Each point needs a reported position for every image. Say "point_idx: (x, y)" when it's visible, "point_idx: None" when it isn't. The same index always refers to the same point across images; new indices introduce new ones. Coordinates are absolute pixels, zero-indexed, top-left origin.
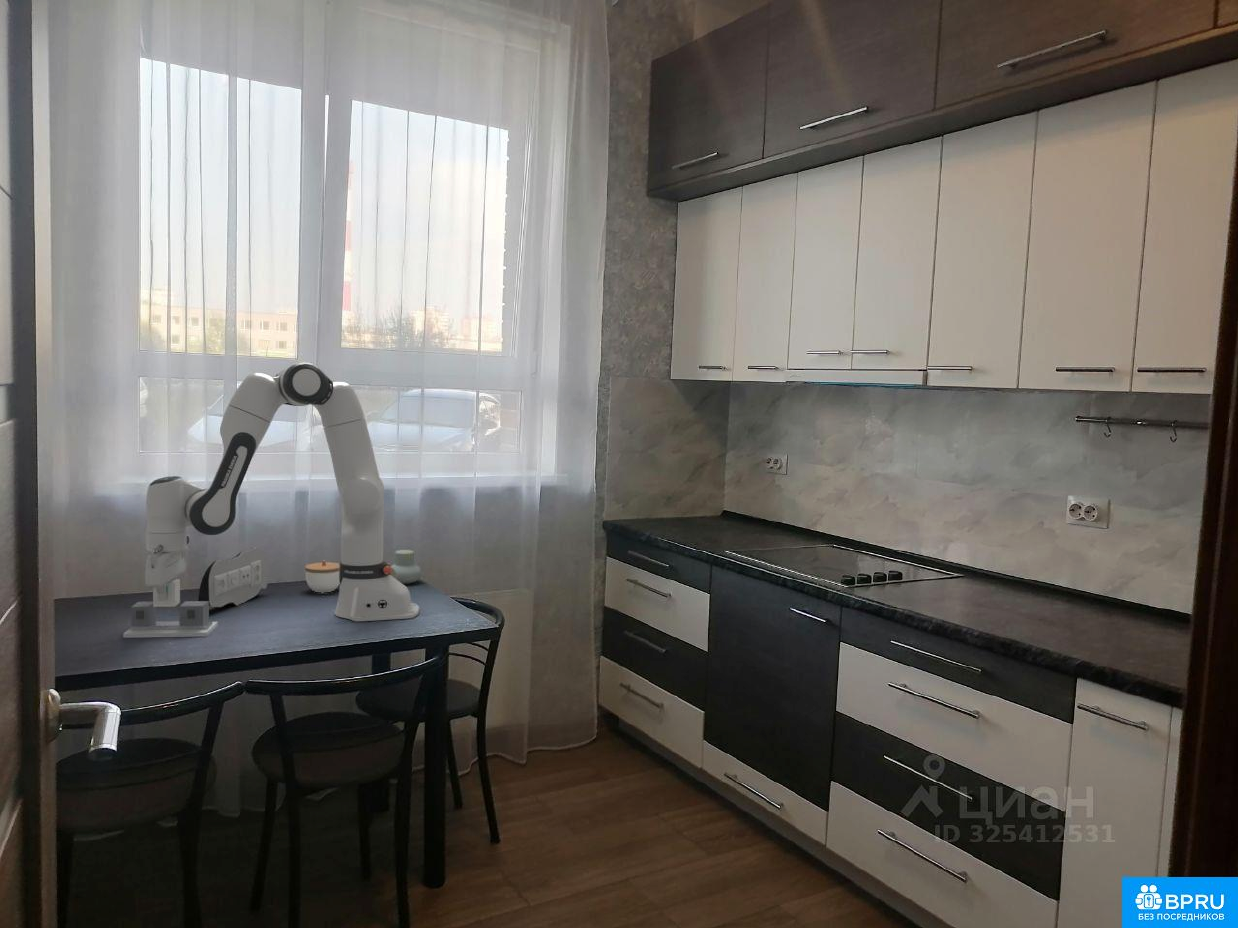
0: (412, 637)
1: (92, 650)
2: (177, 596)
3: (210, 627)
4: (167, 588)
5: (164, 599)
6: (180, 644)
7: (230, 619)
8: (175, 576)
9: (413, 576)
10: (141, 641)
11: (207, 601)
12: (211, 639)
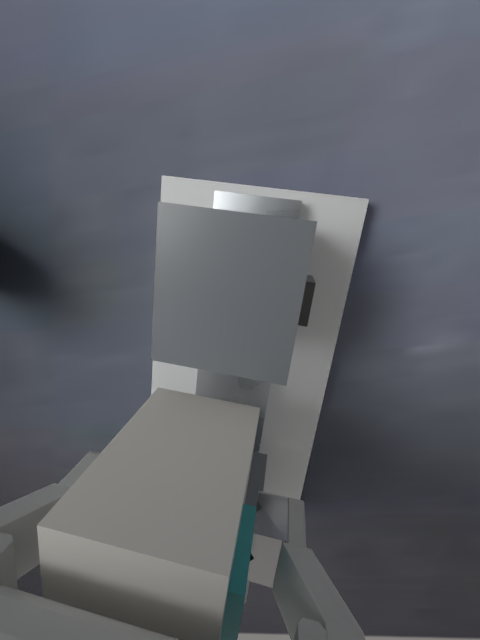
0: None
1: (443, 577)
2: (190, 429)
3: (269, 195)
4: (245, 569)
5: (302, 509)
6: (476, 305)
7: (65, 134)
8: (54, 617)
9: None
10: (367, 450)
11: (168, 209)
12: (431, 168)
